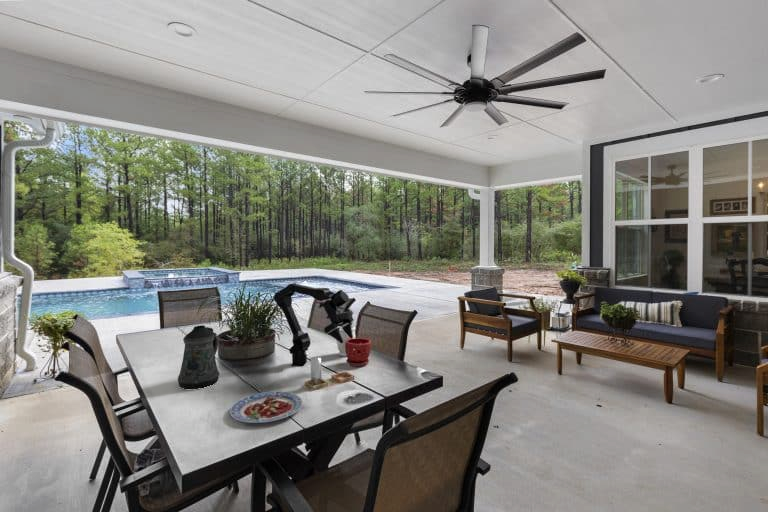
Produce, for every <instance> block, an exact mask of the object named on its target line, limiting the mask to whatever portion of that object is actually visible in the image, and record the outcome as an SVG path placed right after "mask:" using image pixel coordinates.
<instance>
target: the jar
mask: <svg viewBox="0 0 768 512" xmlns="http://www.w3.org/2000/svg"><path fill="white" fill-rule="evenodd" d="M339 327H340V329H339V332H340V335H341V337H342V340H343V343H340V342H339V341H338V340H336V344H337V350H338V351H339V352H338V355H339V356H340V355H341V356H340V357H347V355H346V350H345V342H346V340H348V339H351V338H350V337H349V336H348V335H347V334H346V333H345V331H344V330H343V329H342V328H343V327H342V326H339ZM339 327H337V328H339ZM351 329H352V335H353V338H356V332H355V330H356V327H355V326H354V325H352V326H351ZM353 338H352V339H353Z"/></svg>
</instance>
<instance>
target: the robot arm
mask: <svg viewBox="0 0 768 512" xmlns="http://www.w3.org/2000/svg"><path fill="white" fill-rule="evenodd" d="M295 293H296V294H300V295H301V294H302V295H306V296H309V297H312V299H314V300H317V301H320V303H319V305H318V308H319V309H321V308H323V309H324V311H325V313H326V315H327V316H326V319H327V320H328V319H329V321H330V323H329V324H328V325H327V326H325V327H324V328H323V332H324V333H325V334H327V335H329V336H331V338H333V339H335V340H336V341H337V340H338V341H339V342H340V343H343V340H342V337H341V335H340V332H339V329H340V327H339V326H342V327H343V328H342V329H343V330H344V331H345V333H346V334H347V335H348V336H349V337H350V338H351V339H352V338H353V335H352V329H351V326H353V323H354V318H353V314H354V312H353V310H352V309H351V308H347V309H345V310H346V311H344V312H343V311H342V310H339V309H338V308H341V307H342V306H345V304H347V303H349V301H350V297H349V295H348V294H347V293H346V292H345V291H343V289H339V290H337V291H336V292H333V291H331V290H330V288H328V287H312V286H307V285H303V284H298V283H296V282H294V283H289V284H287V286H285V287H284V288H282V289H280V290H279V291H277V292H275V293H274V296H273V300H274V302H275V303H276V305H277V306H278V307H279V308H280V309H281V310H282V312H283V315H284V316H285V319H286V322H287V324H288V326H289V329H290V331H291V333H292V346H291V347H290V348H289V349H288V350H289V354H291V361H292V362H291V364H290V365H291V366H293V367H297V366H298V367H302V366H303V367H304V366H305V365H306V364H307V363H308V354H307V351H309V347H310V346H311V338H310V336H309V334H308V332H304V331H303V330H302V327H301V325H300V323H299V320H298V318H297V315H296V313H295V311H294V309H293V306H292V303H293V298H292V297H293V295H295ZM337 327H339V328H337Z"/></svg>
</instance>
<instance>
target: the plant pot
mask: <svg viewBox="0 0 768 512" xmlns="http://www.w3.org/2000/svg"><path fill="white" fill-rule="evenodd" d="M371 349H372V341H371V339H367V338H362V337H361V338H360V337H359V338H358V337H357V338H356V337H355V338H353V339H348V340H346V342H345V350H346V355H347V356H346V358H347V359H346V360H345V361H346V364H348V365H349V366H352V367H362V366H363V367H364V366H366V365H368V364H369V362H370V359H369V357H370V354H371Z"/></svg>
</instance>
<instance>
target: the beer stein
mask: <svg viewBox="0 0 768 512" xmlns="http://www.w3.org/2000/svg"><path fill="white" fill-rule="evenodd" d="M182 340H183V344H184V350H183V354H182V355H183V356H182V360H181V361H182V362H181V367H180V371H179V375H178V376H177V383H178V386H180V387H181V388H184V389H183V390H185V389H197V390H199V389H198V388H203V389H205V388H204V387H207V386H210V385H213V384H214V385H216V384H217V383H218V382H219V378H220V372H219V369H218V366H217V362H216V361H217V360H216V354H217V351H218V347H219V343H220V341H219V337H218V335H217V333H216V332H214V328H212V327H208V326H207V327H206V325H203V324H202V325H201V324H200V325H196V326H193V329H191V331H190V332H188V333H187V334H186V335H184V337H183V339H182ZM217 381H218V382H217ZM216 382H217V383H216ZM215 383H216V384H215ZM214 385H213V386H214ZM180 387H179V388H180ZM210 387H211V386H210ZM181 388H180V389H181ZM207 388H208V387H207Z"/></svg>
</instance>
